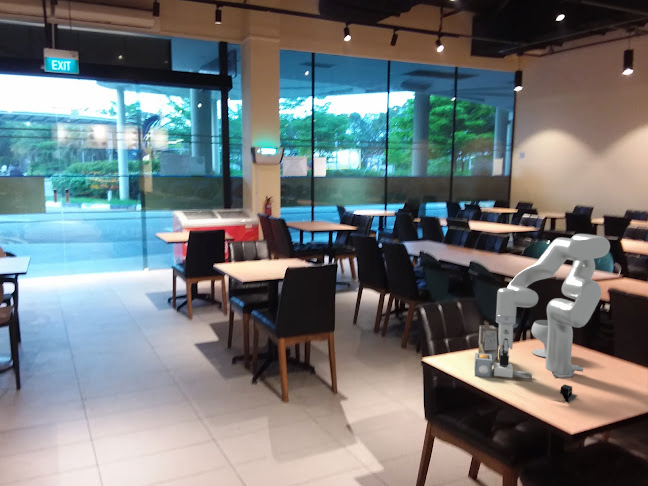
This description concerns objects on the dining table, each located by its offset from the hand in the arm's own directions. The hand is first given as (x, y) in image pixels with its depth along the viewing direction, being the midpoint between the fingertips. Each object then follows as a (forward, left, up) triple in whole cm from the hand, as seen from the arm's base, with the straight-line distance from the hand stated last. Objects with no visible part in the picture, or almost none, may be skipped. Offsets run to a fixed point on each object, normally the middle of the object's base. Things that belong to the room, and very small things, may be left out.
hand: (503, 361), depth 210 cm
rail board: (0, 0, -7) cm, 7 cm away
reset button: (+8, 0, -1) cm, 8 cm away
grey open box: (+8, 0, -6) cm, 10 cm away
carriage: (0, 0, -6) cm, 6 cm away
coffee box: (+5, -18, -7) cm, 20 cm away
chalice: (-22, -38, -7) cm, 45 cm away
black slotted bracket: (-22, +12, -8) cm, 26 cm away
